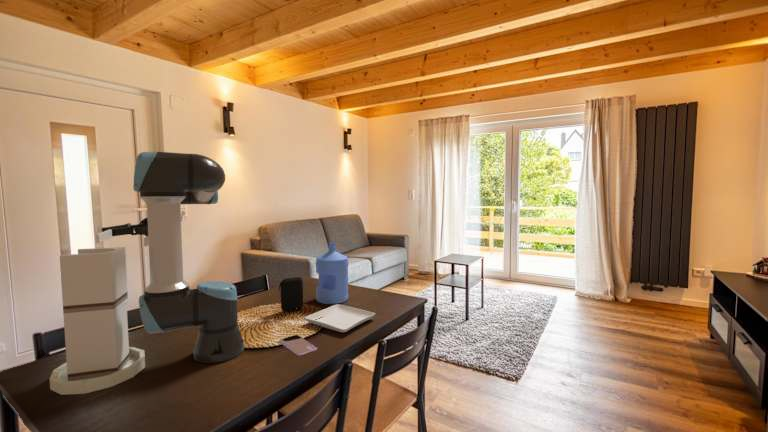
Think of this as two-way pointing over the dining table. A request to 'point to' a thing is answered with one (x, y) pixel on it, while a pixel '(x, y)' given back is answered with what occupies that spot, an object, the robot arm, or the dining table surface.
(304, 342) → the mobile phone
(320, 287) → the water jug
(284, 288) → the black rounded block
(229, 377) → the dining table surface
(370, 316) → the salad plate
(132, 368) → the round tray
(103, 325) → the tall seamed cream box
